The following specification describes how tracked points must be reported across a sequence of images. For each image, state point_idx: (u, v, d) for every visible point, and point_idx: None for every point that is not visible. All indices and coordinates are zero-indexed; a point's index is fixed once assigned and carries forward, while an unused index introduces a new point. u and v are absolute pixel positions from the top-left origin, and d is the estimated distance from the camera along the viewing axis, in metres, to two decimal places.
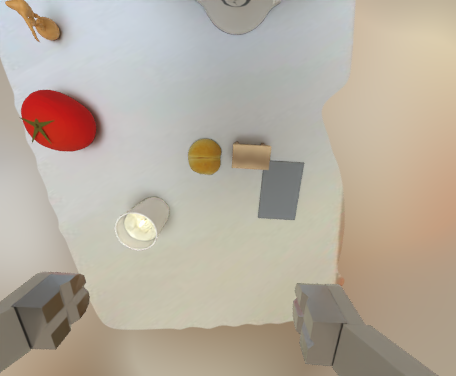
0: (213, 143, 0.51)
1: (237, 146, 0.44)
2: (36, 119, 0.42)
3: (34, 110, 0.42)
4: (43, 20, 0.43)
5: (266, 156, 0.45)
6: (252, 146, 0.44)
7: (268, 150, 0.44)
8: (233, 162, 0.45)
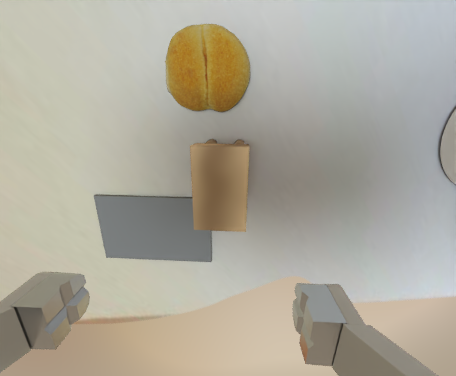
0: (240, 92, 0.22)
1: (244, 158, 0.18)
2: None
3: None
4: None
5: (224, 223, 0.20)
6: (245, 192, 0.19)
7: (237, 226, 0.20)
8: (204, 149, 0.18)
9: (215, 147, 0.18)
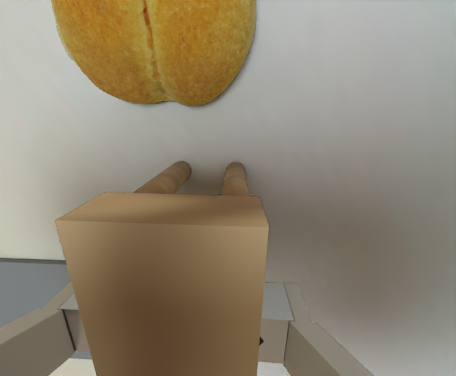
0: (234, 60, 0.09)
1: (251, 261, 0.05)
2: None
3: None
4: None
5: None
6: (251, 350, 0.06)
7: None
8: (105, 232, 0.05)
9: (145, 226, 0.05)
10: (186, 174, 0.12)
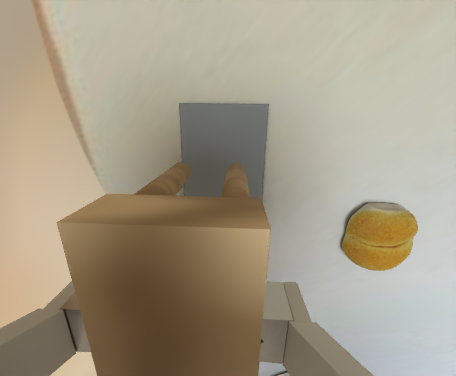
0: (359, 265, 0.27)
1: (252, 263, 0.05)
2: None
3: None
4: None
5: None
6: (252, 351, 0.06)
7: None
8: (107, 234, 0.05)
9: (147, 228, 0.05)
10: (187, 175, 0.12)
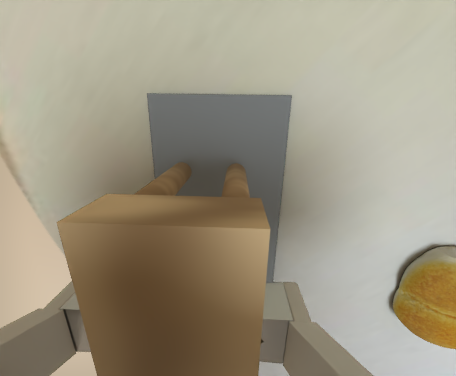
0: (421, 337, 0.18)
1: (252, 262, 0.05)
2: None
3: None
4: None
5: None
6: (252, 351, 0.06)
7: None
8: (107, 234, 0.05)
9: (147, 228, 0.05)
10: (187, 175, 0.12)
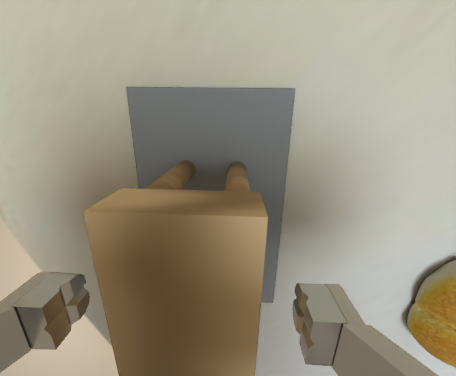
0: (440, 359, 0.16)
1: (252, 247, 0.06)
2: None
3: None
4: None
5: None
6: (252, 328, 0.07)
7: None
8: (126, 222, 0.06)
9: (161, 216, 0.06)
10: (191, 173, 0.13)
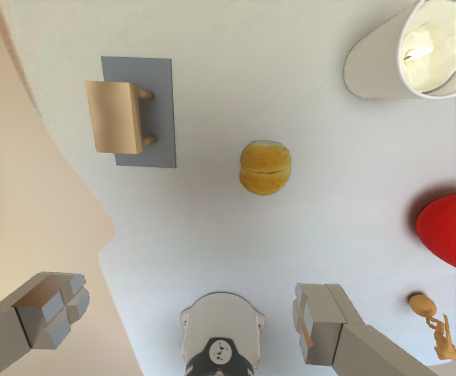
0: (250, 191, 0.35)
1: (126, 91, 0.24)
2: None
3: None
4: (424, 316, 0.41)
5: (119, 146, 0.26)
6: (131, 120, 0.25)
7: (129, 149, 0.26)
8: (95, 84, 0.24)
9: (103, 82, 0.23)
10: None
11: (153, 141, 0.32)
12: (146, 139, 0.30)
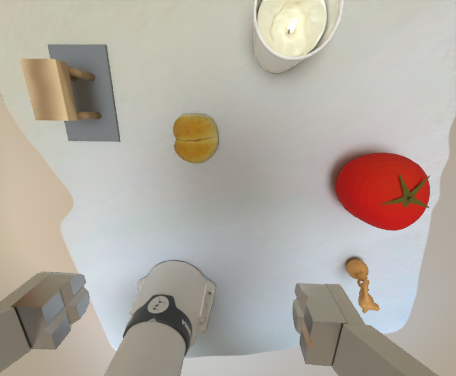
0: (183, 159, 0.39)
1: (54, 66, 0.29)
2: (406, 205, 0.31)
3: (401, 216, 0.31)
4: (356, 277, 0.44)
5: (53, 114, 0.31)
6: (61, 91, 0.30)
7: (62, 117, 0.31)
8: (28, 61, 0.29)
9: (35, 59, 0.29)
10: (71, 75, 0.36)
11: (94, 116, 0.37)
12: (84, 112, 0.35)
